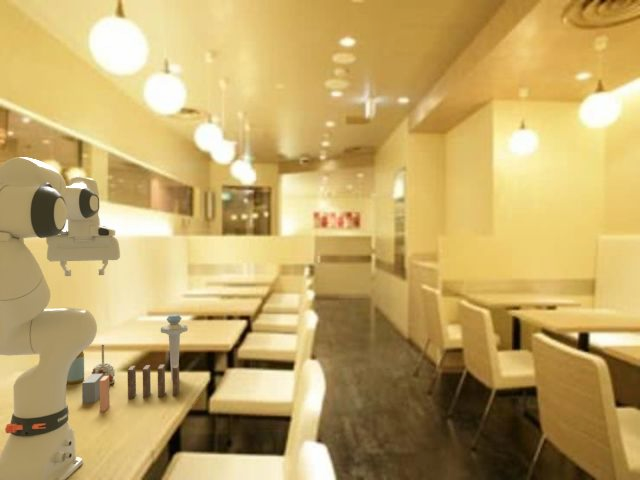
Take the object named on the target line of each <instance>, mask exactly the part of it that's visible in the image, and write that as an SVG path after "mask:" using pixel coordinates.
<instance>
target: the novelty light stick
mask: <svg viewBox="0 0 640 480" xmlns="http://www.w3.org/2000/svg"><path fill="white" fill-rule="evenodd" d="M181 320H182V317H181V315H179V314H170V315H169V316H168V317H166V321H167V322H168V323H169V324H168V325H165V326H162V327H160V333H162V334H166V335H168V342H169V343H168V345H169V346H168V347H169V359H170V374H171V375H170V376H171V377H170V379H171V380H173V373H172V368H173V366H174V364H179V365H180V363H179V361H180V340H181V334H182V333H185V332H187V331H188V325H184V324H180V322H181Z"/></svg>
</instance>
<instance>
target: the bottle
mask: <svg viewBox="0 0 640 480" xmlns="http://www.w3.org/2000/svg"><path fill="white" fill-rule="evenodd" d="M84 381H85V352H84V350H83V351H82V352H81V353H80V354H79V355H78V356H77V357H76V358H75V360H74V361H73V363H72V365H71V367H70V369H69V372H68V376H67V384H66V385H74V384H79V383H83V382H84Z"/></svg>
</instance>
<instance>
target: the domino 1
mask: <svg viewBox="0 0 640 480" xmlns="http://www.w3.org/2000/svg"><path fill="white" fill-rule="evenodd" d="M110 403H111V402H110V384H109V376H104V377H103V378H102V379H101V380H100V398H99V412H106V411H108V408H109V407H110V405H111V404H110Z"/></svg>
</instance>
